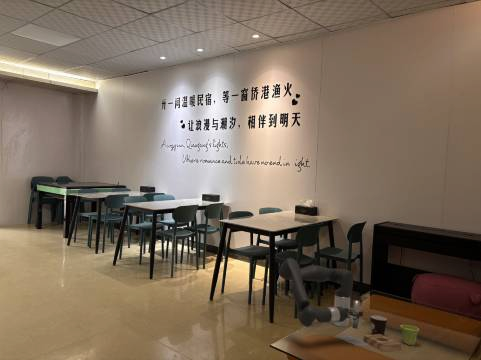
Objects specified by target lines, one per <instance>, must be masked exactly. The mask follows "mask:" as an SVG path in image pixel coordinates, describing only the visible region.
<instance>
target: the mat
mask: <svg viewBox="0 0 481 360" xmlns="http://www.w3.org/2000/svg"><path fill="white" fill-rule="evenodd" d="M337 337H338V338H339V339H341V340H343V341H345V342H347V343H348V344H350V343H352V344H354V345H357V346H356V347H360V346H361V347H362V346H371V345H370V344H368V343H366V342H364V340H362V339H360V338H358V337H356V336H354V335H340V336H337ZM352 344H351V345H352ZM354 345H353V346H354Z"/></svg>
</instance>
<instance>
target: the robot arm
mask: <svg viewBox="0 0 481 360" xmlns="http://www.w3.org/2000/svg"><path fill="white" fill-rule="evenodd" d="M278 275H279V276H280V277H281V278H282V279H284V280H287V281H292V282H291V283H292V296H293V300H294V301H295V304H296V309H297V317H298V320H299V323H300V324H301V325H302V326H304V327H311V325H313V324H314V322H315V320H316V321H317V322H319V323H332V324H333V325H335V326H336V327H341V328H343V327H345V328H346V327H349V322H350V319H352V318H353V320H356V319H359V320H360V317H363V316H364V311H359V312H354V311H353V309H352V308H351V295H352V293H353V285H354V274H353V272H352V271H350V270H348V269H345V268H328V267H325V266H322V265H315V264H314V265H313V264H312V265H308V266H306V267H301V268H300V265H299V263H298V261H297V260H295V259H294V258H292V257H288V258H286V259H285V260H284V261H283V262H282V264H281V266H280V267H279V268H278ZM304 281H309V282H310V281H311V282H315V283H316V282H317V283H319V282H320V283H323V282H326V281H328V282H334V283H336V284H339V285H340V288H339V289H336V290H335V291H334V302H333V303H334V304H333V306H330V307H329V306H327V307H318V306H314V305H311V304H310V303H311V301H310V297H309V296H308V293H307V291H306V287H305V286H304ZM355 313H356V314H355Z"/></svg>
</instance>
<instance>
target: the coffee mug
mask: <svg viewBox="0 0 481 360" xmlns="http://www.w3.org/2000/svg"><path fill="white" fill-rule="evenodd" d="M369 320H370V321H369V322H370V323H371V324H370V325H371V335H372V334H373V335H376V334H381V335H384V336H385V333H386V326H387V321H388V319H387V318H386V317H383V316H380V315H371V316H370V318H369Z"/></svg>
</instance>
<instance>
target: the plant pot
mask: <svg viewBox="0 0 481 360" xmlns="http://www.w3.org/2000/svg"><path fill="white" fill-rule="evenodd" d="M400 328H401V335H402V343H406V344H405V345H407V344H408V345H407V346H415V345H416V343H417V337H418V334H419V331H420V328H418V327H417V326H414V325H411V324H410V325H409V324H400ZM414 344H415V345H414Z"/></svg>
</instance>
